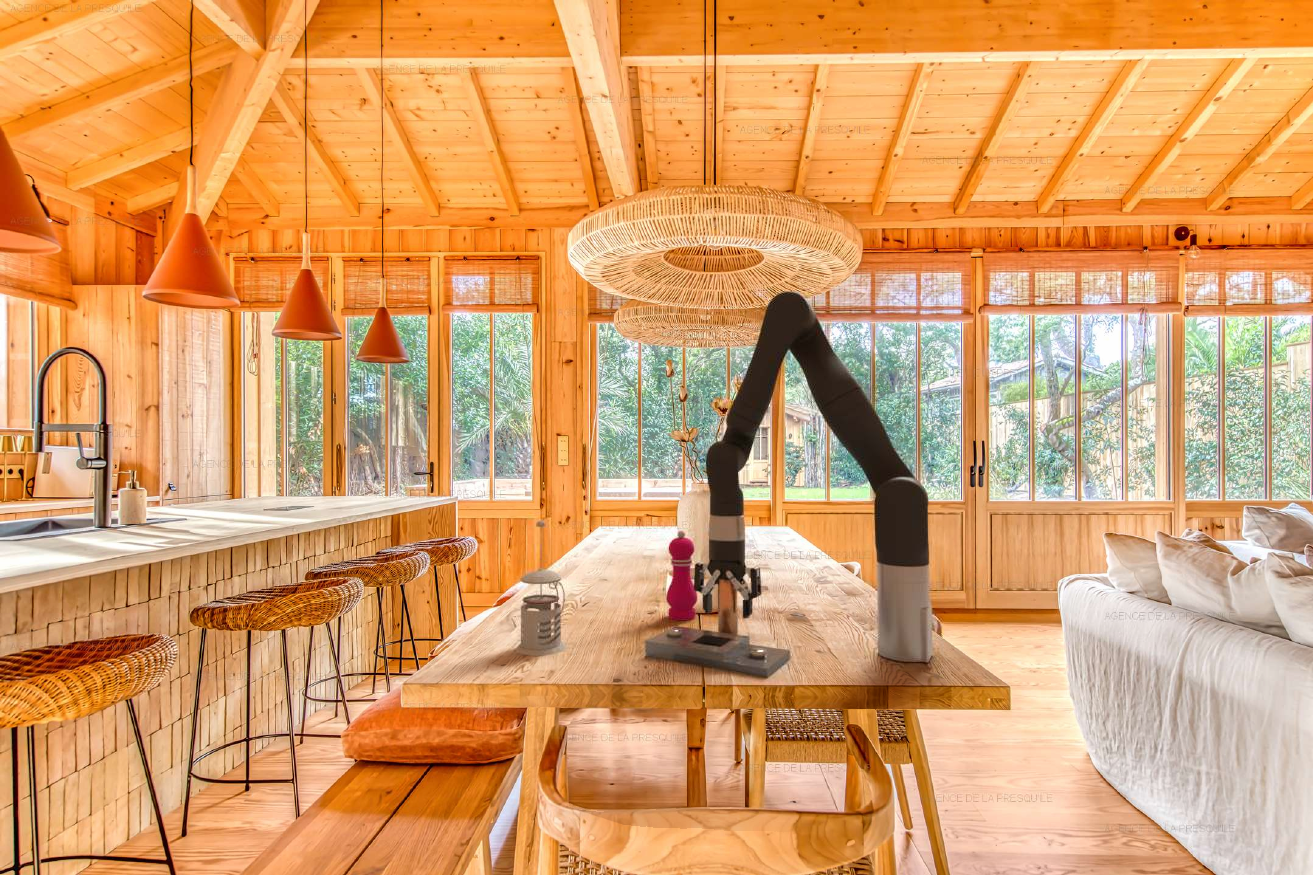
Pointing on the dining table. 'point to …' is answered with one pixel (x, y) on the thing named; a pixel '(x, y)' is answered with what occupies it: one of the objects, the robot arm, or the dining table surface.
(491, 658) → the dining table surface
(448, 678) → the dining table surface
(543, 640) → the french press
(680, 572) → the pepper mill
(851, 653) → the dining table surface
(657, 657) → the upper link
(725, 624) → the copper pin
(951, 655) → the dining table surface
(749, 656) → the lower link
